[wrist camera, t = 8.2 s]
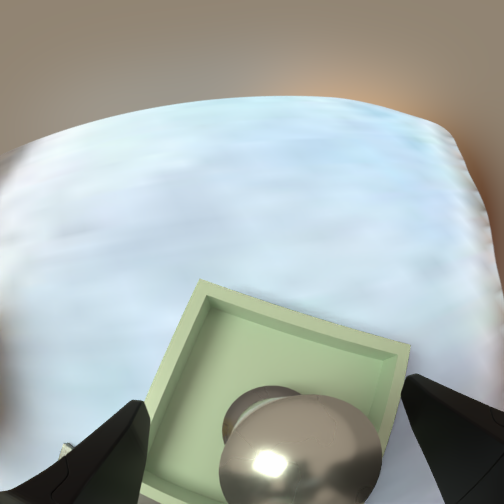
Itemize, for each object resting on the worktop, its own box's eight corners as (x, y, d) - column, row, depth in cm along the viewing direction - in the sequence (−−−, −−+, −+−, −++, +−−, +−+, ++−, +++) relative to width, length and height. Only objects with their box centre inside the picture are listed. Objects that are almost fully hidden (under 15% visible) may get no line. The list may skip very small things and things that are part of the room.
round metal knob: (326, 421, 15) (440, 436, 5) (269, 478, 13) (302, 579, 3) (266, 371, 16) (298, 319, 6) (208, 426, 14) (140, 465, 4)
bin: (389, 354, 17) (410, 345, 15) (328, 529, 11) (341, 546, 8) (206, 296, 20) (199, 278, 17) (132, 469, 13) (113, 478, 11)
